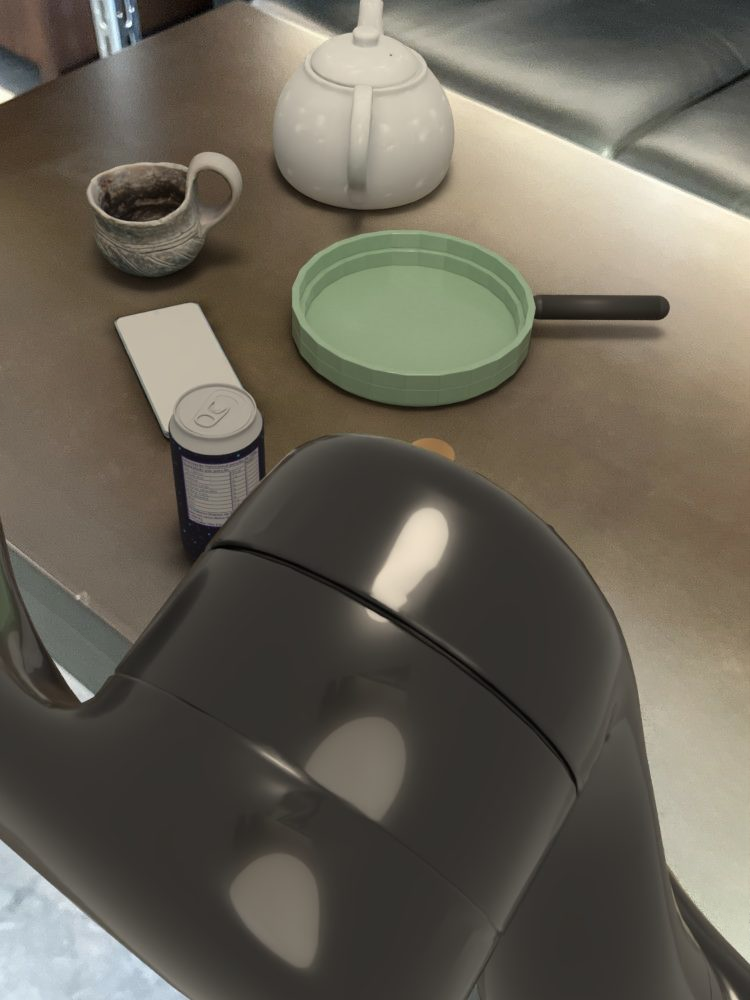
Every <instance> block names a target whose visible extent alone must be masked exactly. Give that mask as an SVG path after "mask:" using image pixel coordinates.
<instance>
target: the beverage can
mask: <svg viewBox="0 0 750 1000" xmlns="http://www.w3.org/2000/svg"><path fill="white" fill-rule="evenodd" d="M244 389H245V388H244ZM244 389H242V388H240V387H237V386H235V385H231V384H227V383H207V384H202V385H198V386H196V387H193V388H191V389H189V390H187V391H186V392H184V393H183V394H182V395H181V396H180V397H179V398H178V400H177V401H176V403H175V405H174V409H173V414H172V416H171V418H170V421H169V425H168V431H169V438H168V440H169V448H170V456H171V457H170V458H171V464H172V473H173V481H174V490H175V498H176V508H177V518H178V524H179V534H180V541H181V542H180V543H181V547H182V548H183V550H184V551H185V553H186V555H188V556H189V557H190V558H191V559H192V560H193V561H195V562H196V560H197V559H198V558H199V556H200V555H201V554H202V552H205V549H206V546H207V545H208V543H209V542H210V541H211V540H212V538H213V537H214V536H215V534H216V533H217V532H218V530H219V529H220V528H221V527H222V525H223V524H224V523H225V522H226V520H227V519H228V518H229V516H230V515H231V514H232V513H233V511H234V510H235V509H236V508H237V507H238V505H239V504H240V503H241V502H242V501H243V500H244V499H245V497H246V496H247V495H248V494H249V493H250V492H251V491H252V489H253V488H254V487H255V486H256V485H257V484H258V483H259V482H260V481H261V480H262V479H263V478H264V477H265V476H266V475H267V473H266V448H265V447H266V445H265V420H264V418H263V416H262V413H261V411H260V410H259V409H258V408H257V403H256V401H255V399H254V397H253V396H252V395H251V393H249V392H248V391H247V390H244Z"/></svg>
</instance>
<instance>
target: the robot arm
mask: <svg viewBox="0 0 750 1000" xmlns="http://www.w3.org/2000/svg"><path fill="white" fill-rule="evenodd" d="M4 530H5V529H4V525H3V521H2V517H1V516H0V841H1V842H2V843H4V845H6V846H7V848H10V850H11V851H13V852H14V853H15V854H16V855H17V856H18V857H19V858H20V859H22V860H23V861H24V862H25V863H26V864H28V865H29V866H30V867H31V868H32V869H33V870H34V871H36V873H38V874H39V875H40V876H41V877H42V878H43V879H44V880H46V882H48V883H49V884H50V885H51V886H53V887H54V889H56V890H57V891H58V892H59V893H61V894H62V895H63V896H64V897H65V898H66V899H67V900H68V901H69V902H71V903H72V904H73V905H74V906H75V907H76V908H78V909H79V910H80V911H81V912H82V913H83V914H85V916H87V917H88V918H89V919H90V920H91V921H93V922H94V923H95V924H96V925H97V926H98V927H99V928H101V929H102V930H103V931H105V932H106V933H107V934H108V935H109V936H110V937H112V938H113V939H114V940H115V941H116V942H117V943H119V944H120V945H121V946H123V947H124V948H125V949H126V950H127V951H128V952H130V953H131V954H132V955H133V956H134V957H136V958H137V959H139V961H140V962H142V963H143V964H144V965H145V966H147V968H149V969H150V970H151V971H152V972H154V973H155V974H156V975H158V976H159V977H160V978H161V979H162V980H164V981H165V982H166V983H167V984H168V985H170V986H171V988H173V989H174V990H176V991H177V992H179V993H180V994H181V995H182V996H184V997H185V998H187V999H188V1000H469V997H470V996H471V994H472V992H473V991H474V988H476V991H477V994H478V997H479V1000H750V963H749V962H748V961H747V959H746V958H744V957H743V955H742V954H741V953H740V952H739V951H738V950H737V949H736V948H735V947H734V946H733V945H732V944H731V943H730V942H729V941H728V940H727V939H726V937H725V936H724V935H723V934H722V933H721V932H720V931H719V930H718V929H717V928H716V927H715V925H714V924H713V923H712V922H711V921H710V920H709V919H708V917H707V916H706V915H705V914H704V913H703V911H702V910H701V909H700V907H699V906H698V905H697V904H696V903H695V901H694V900H693V898H692V897H690V895H689V894H688V893H687V891H686V890H685V888H684V887H683V886H682V884H681V883H680V881H679V879H678V878H677V877H676V875H675V873H674V872H673V870H672V869H671V867H670V866H669V864H668V863H667V860H666V859H667V857H666V854H665V848H664V844H663V843H664V842H663V838H662V831H661V826H660V825H661V824H660V819H659V812H658V806H657V803H656V796H655V792H654V786H653V780H652V775H651V769H650V765H649V759H648V753H647V752H648V751H647V746H646V740H645V739H646V737H645V731H644V724H643V719H642V718H643V716H642V711H641V703H640V696H639V690H638V685H637V680H636V675H635V670H634V666H633V662H632V661H633V660H632V658H631V655H630V651H629V648H628V644H627V642H626V638H625V636H624V633H623V629H622V628H621V625H620V622H619V620H618V618H617V616H616V614H615V611H614V609H613V608H612V606H611V604H610V603H609V601H608V599H607V597H606V595H605V594H604V593H603V591H602V590H601V588H600V586H599V585H598V583H597V581H596V580H595V579H594V577H593V575H592V574H591V572H590V571H589V569H588V567H587V566H586V564H585V563H584V561H583V560H582V559H581V558H580V557H579V556H578V555H577V553H576V552H575V551H574V550H573V549H572V548H571V547H570V546H569V544H567V542H566V541H565V540H564V539H563V537H562V536H560V534H559V533H558V532H557V531H556V529H555V528H554V527H553V526H552V525H551V524H550V523H547V522H546V521H545V520H544V519H543V518H541V517H540V516H539V515H538V514H536V513H535V512H534V510H532V509H531V508H529V507H528V506H527V505H526V504H525V503H523V501H521V500H520V499H519V498H517V497H516V496H515V495H514V494H512V493H510V491H507V490H505V489H504V488H503V487H501V486H499V485H498V484H497V483H495V482H493V481H492V480H491V479H490V478H487V477H486V476H484V475H483V474H481V473H480V472H477V471H475V470H473V469H471V468H469V467H467V466H465V465H464V464H461V463H458V462H457V461H455V460H454V461H453V460H451V459H449V458H447V457H444V456H442V455H440V454H438V453H436V452H433V451H430V450H428V449H425V448H422V447H419V446H416V445H413V444H412V443H410V442H407V441H404V440H401V439H397V438H392V437H389V436H383V435H378V434H377V435H376V434H369V433H363V432H351V433H350V432H347V433H341V432H340V433H332V434H325V435H321V436H319V437H317V438H314V439H311V440H309V441H306V442H304V443H301V444H300V445H298V446H297V447H294V448H293V449H292V450H291V451H289V452H288V453H287V454H286V455H285V456H283V458H281V460H280V461H279V462H278V463H276V465H275V466H273V468H272V469H271V470H270V471H269V472H268V473H266V476H265V477H264V478H263V479H262V480H261V481H260V482H259V483H258V484H257V485H256V486H255V487H254V488H253V489H252V491H251V492H250V493H249V494H248V495H247V496H246V497H245V499H244V500H243V501H242V502H241V503H240V504H239V505H238V507H237V508H236V509H235V510H234V511H233V513H232V514H231V515H230V516H229V518H228V519H227V520H226V522H225V523H224V524H223V525H222V527H221V528H220V529H219V530H218V532H217V533H216V534H215V536H214V537H213V538H212V540H211V541H210V542H209V543H208V545H207V546H206V549H205V552H202V554H201V555H200V556H199V558H198V559H197V560H196V561H195V562H193V564H192V566H191V567H190V568H189V570H188V571H187V572H186V573H185V575H184V576H183V577H182V578H181V580H180V582H179V583H178V584H177V585H176V587H175V588H174V589H173V591H172V592H171V594H170V595H169V596H168V598H167V599H166V600H165V601H164V603H163V604H162V605H161V606H160V608H159V609H158V610H157V612H156V613H155V615H154V616H153V618H152V619H151V620H150V621H149V623H148V624H147V626H146V627H145V628H144V630H143V631H142V632H141V634H140V635H139V636H138V637H137V639H136V640H135V642H134V643H133V644H132V646H131V647H130V648H129V650H128V651H127V652H126V653H125V655H124V656H123V658H122V659H121V660H120V661H119V663H118V664H117V666H116V667H115V668H114V673H113V674H112V675H109V676H108V678H107V679H106V680H105V681H104V683H102V686H100V688H99V690H97V692H96V693H95V694H94V696H92V697H90V698H89V699H86V700H85V701H81V700H80V699H79V697H78V696H77V694H75V692H74V691H73V689H72V688H71V687H70V686H69V684H68V682H67V680H66V679H65V677H64V676H63V674H62V672H61V670H60V669H59V667H58V666H57V664H56V663H55V661H54V659H53V658H52V656H51V655H50V653H49V652H48V649H47V648H46V646H45V644H44V641H42V638H41V636H40V635H39V633H38V631H37V629H36V626H35V624H34V622H33V620H32V618H31V615H30V613H29V611H28V608H27V606H26V604H25V601H24V599H23V596H22V593H21V591H20V589H19V586H18V584H17V583H18V582H17V580H16V576H15V573H14V569H13V565H12V561H11V557H10V552H9V548H8V543H7V540H6V539H7V538H6V533H5V531H4Z"/></svg>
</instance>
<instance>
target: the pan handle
mask: <svg viewBox="0 0 750 1000" xmlns="http://www.w3.org/2000/svg"><path fill="white" fill-rule="evenodd" d="M533 298H534V302H535V306H536V310H535V316H534V320H538V321H540V320H541V321H662V320H664V319H665V318H667V316H668V315H669V313H670V310H671V309H670V308H671V305H670V302H669V300H668V299H667V298H666V297H665V296H662V295H659V294H657V295H655V294H653V295H652V294H649V295H648V294H641V295H640V294H542V293H541V294H535V295H533Z"/></svg>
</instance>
